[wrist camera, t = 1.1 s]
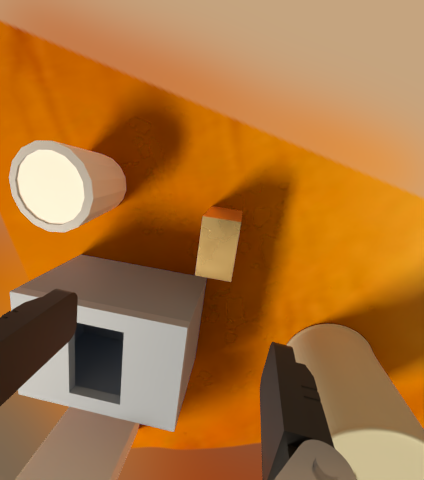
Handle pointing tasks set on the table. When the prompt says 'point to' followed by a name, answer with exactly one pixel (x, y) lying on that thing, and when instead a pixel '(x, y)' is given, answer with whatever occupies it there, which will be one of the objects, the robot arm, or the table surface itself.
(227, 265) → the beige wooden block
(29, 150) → the white cup
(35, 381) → the coin box
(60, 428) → the milk carton
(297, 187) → the table surface
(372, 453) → the can
